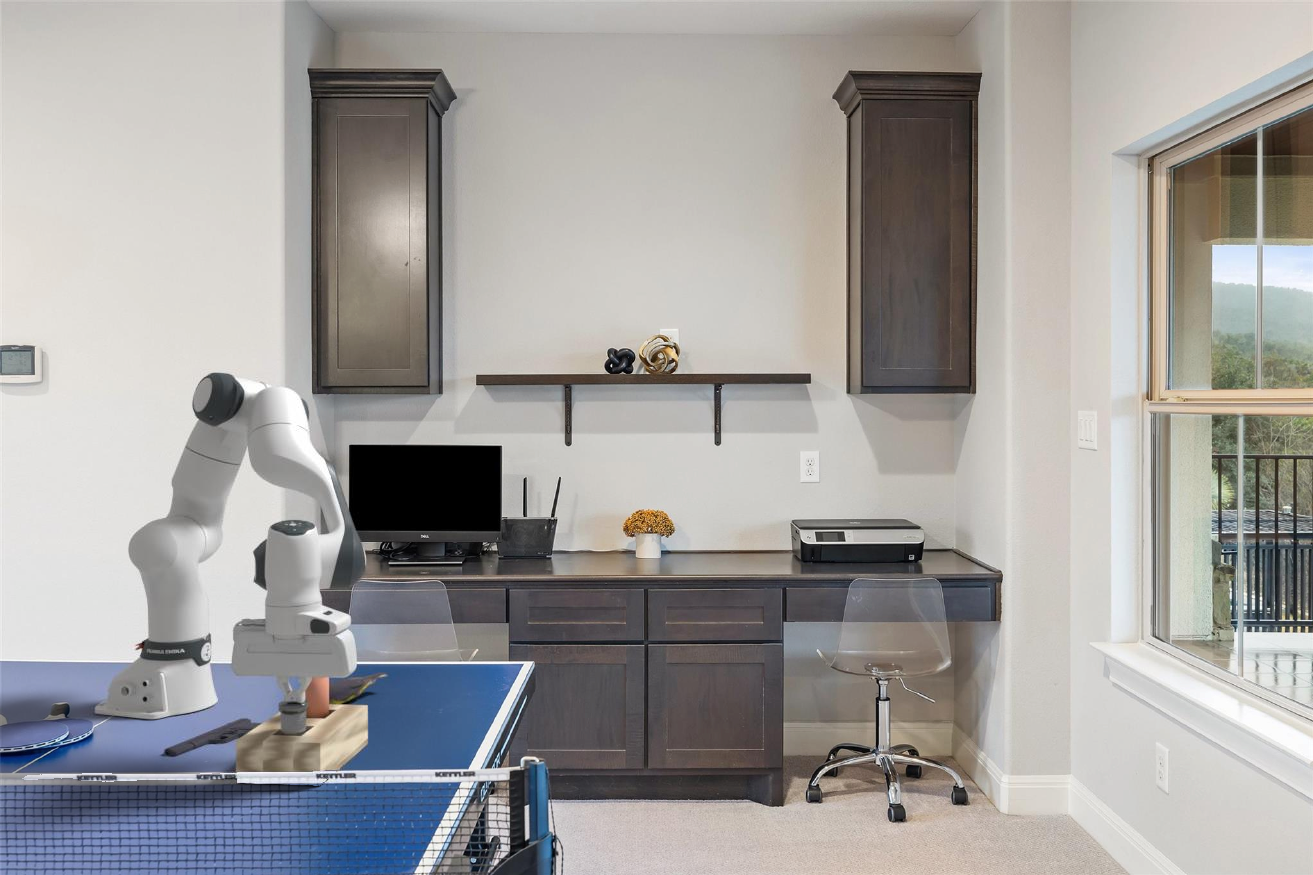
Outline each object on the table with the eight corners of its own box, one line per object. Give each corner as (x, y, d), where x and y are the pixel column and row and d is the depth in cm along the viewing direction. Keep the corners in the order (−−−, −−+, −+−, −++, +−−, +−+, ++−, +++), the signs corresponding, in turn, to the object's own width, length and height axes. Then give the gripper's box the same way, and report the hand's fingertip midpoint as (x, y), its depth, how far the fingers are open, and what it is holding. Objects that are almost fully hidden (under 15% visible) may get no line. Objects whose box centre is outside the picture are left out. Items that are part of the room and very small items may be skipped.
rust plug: (298, 726, 164) (298, 668, 163) (310, 717, 168) (309, 661, 168) (324, 726, 163) (323, 669, 163) (335, 718, 168) (334, 662, 168)
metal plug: (273, 767, 155) (273, 706, 154) (286, 757, 159) (286, 698, 159) (300, 768, 154) (300, 707, 154) (313, 757, 159) (312, 699, 159)
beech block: (236, 783, 152) (235, 740, 152) (293, 741, 172) (292, 703, 172) (320, 786, 151) (320, 742, 151) (367, 743, 171) (367, 705, 171)
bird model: (296, 711, 189) (296, 687, 189) (377, 689, 205) (377, 666, 205) (311, 716, 186) (311, 691, 186) (392, 693, 202) (392, 670, 202)
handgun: (288, 733, 178) (238, 726, 182) (288, 721, 178) (238, 714, 182) (213, 766, 161) (161, 758, 165) (213, 753, 161) (160, 745, 165)
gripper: (223, 622, 154) (224, 706, 154) (345, 624, 153) (345, 709, 153) (242, 614, 160) (243, 695, 161) (360, 616, 159) (360, 697, 159)
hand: (294, 702), depth 157 cm, fingers closed, pressing on metal plug
